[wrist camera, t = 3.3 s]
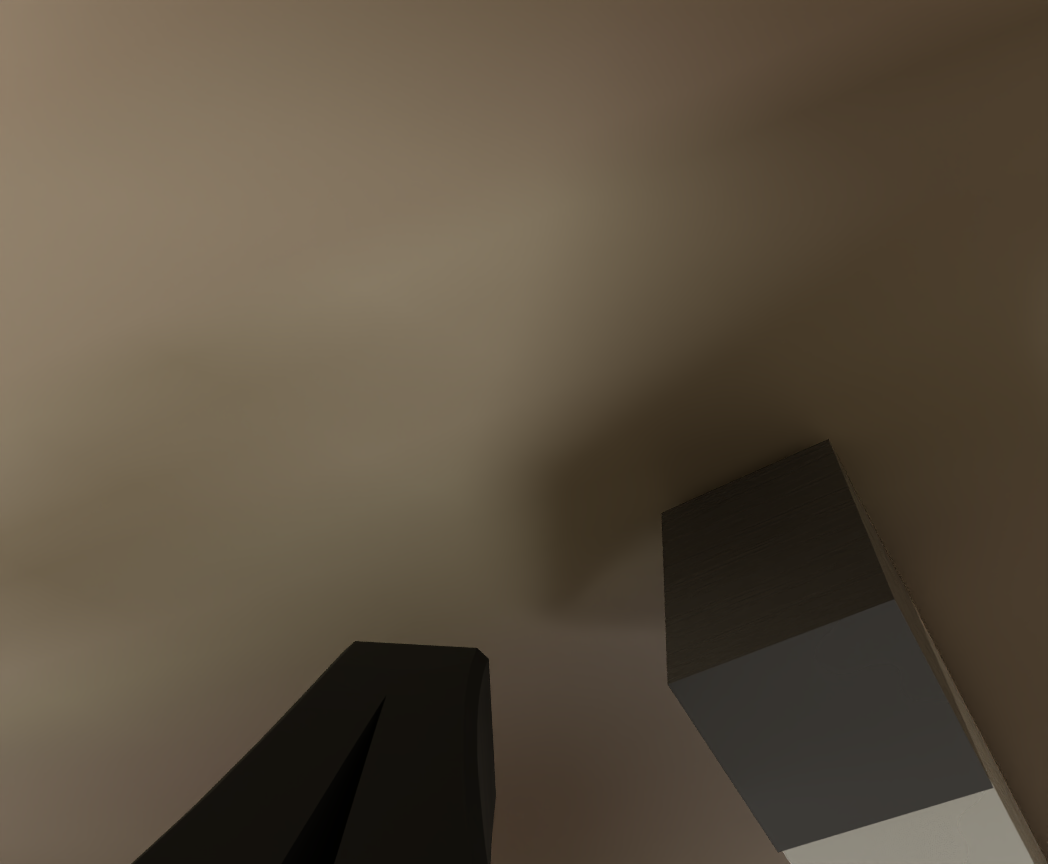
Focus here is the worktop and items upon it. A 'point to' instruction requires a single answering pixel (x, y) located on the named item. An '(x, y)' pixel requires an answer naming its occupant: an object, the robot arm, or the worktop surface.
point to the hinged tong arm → (825, 678)
